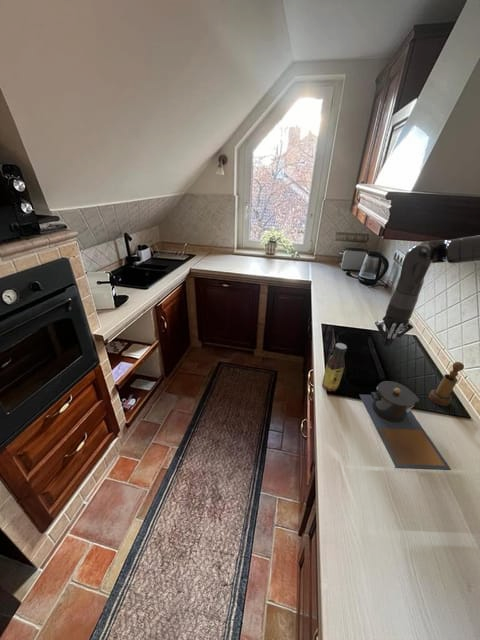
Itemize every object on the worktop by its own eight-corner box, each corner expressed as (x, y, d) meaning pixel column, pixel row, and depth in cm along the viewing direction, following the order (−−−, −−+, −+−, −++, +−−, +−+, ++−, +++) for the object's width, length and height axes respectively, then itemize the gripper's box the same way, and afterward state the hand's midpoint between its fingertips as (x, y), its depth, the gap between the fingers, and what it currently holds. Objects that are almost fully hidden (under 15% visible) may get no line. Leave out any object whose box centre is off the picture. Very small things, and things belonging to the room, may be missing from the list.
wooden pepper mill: (431, 390, 101) (451, 354, 92) (451, 400, 96) (474, 364, 87) (425, 398, 97) (446, 362, 88) (445, 409, 93) (469, 372, 84)
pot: (401, 397, 96) (410, 377, 91) (419, 424, 86) (431, 403, 81) (361, 396, 97) (368, 375, 91) (374, 422, 86) (383, 401, 81)
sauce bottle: (331, 395, 97) (343, 354, 88) (318, 385, 102) (328, 345, 92) (341, 387, 101) (353, 347, 91) (327, 378, 105) (338, 339, 95)
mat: (400, 396, 98) (400, 395, 97) (450, 470, 73) (451, 469, 73) (358, 395, 98) (358, 394, 98) (395, 468, 74) (395, 467, 73)
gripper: (387, 308, 82) (372, 350, 91) (428, 309, 82) (409, 351, 91) (377, 298, 89) (364, 338, 98) (415, 299, 89) (398, 340, 97)
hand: (386, 345), depth 94 cm, fingers closed
